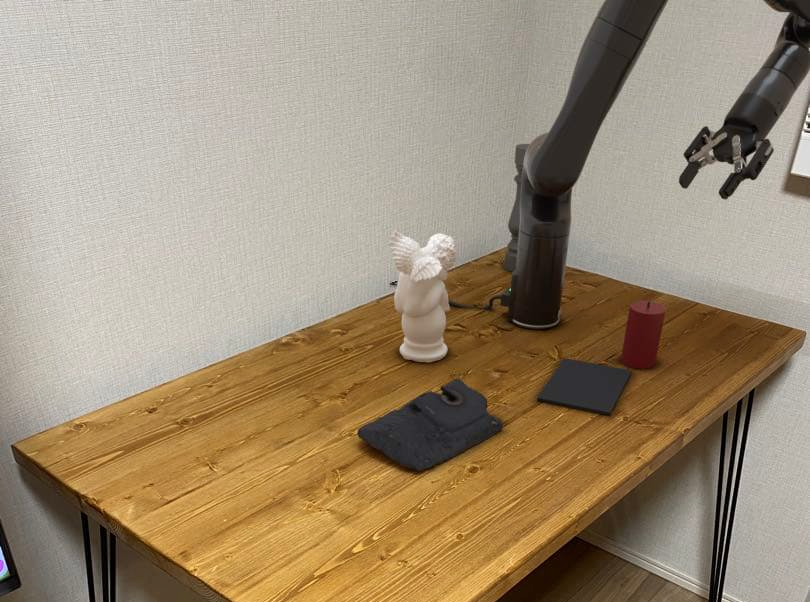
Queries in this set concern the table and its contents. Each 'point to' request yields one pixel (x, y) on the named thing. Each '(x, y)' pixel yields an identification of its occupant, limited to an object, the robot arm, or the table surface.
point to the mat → (585, 386)
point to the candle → (643, 334)
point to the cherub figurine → (422, 294)
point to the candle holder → (515, 211)
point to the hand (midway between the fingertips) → (701, 191)
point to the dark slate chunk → (433, 427)
